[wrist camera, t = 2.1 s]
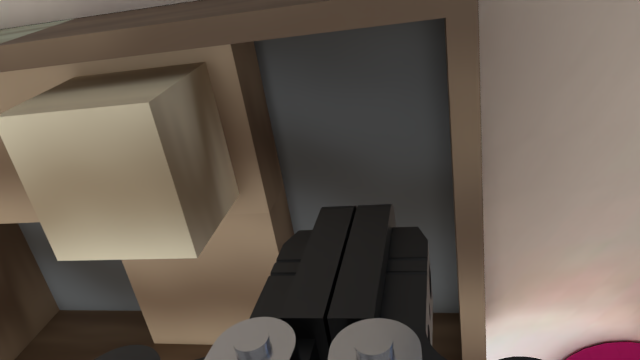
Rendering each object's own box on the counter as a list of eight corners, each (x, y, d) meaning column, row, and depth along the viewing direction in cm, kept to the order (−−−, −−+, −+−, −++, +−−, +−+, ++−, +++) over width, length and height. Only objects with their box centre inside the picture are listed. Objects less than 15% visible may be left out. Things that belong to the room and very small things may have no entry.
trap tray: (-80, 41, 22) (-190, 71, 18) (467, -39, 17) (477, -20, 13) (56, 317, 29) (-4, 384, 25) (478, 322, 23) (487, 407, 19)
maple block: (74, 76, 18) (-8, 117, 15) (205, 61, 17) (148, 102, 14) (120, 200, 21) (57, 260, 17) (239, 194, 19) (197, 258, 16)
